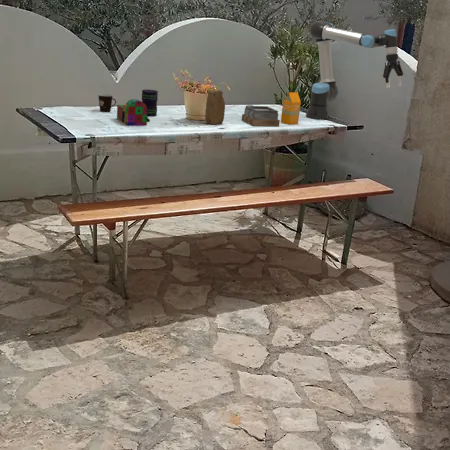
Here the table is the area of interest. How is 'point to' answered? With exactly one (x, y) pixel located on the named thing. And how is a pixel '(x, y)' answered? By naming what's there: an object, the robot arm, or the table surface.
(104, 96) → the coffee mug
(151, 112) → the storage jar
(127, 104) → the multicoloured round-topped piece
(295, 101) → the orange juice
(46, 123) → the table surface
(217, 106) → the block
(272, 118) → the grey square tray
